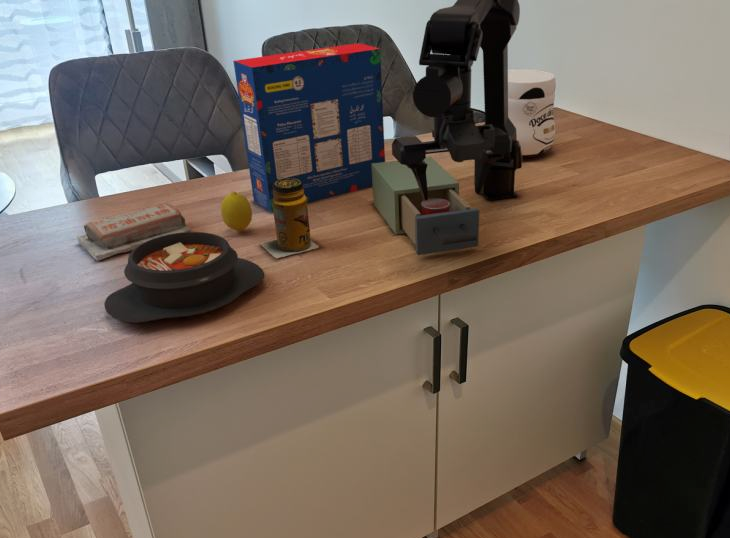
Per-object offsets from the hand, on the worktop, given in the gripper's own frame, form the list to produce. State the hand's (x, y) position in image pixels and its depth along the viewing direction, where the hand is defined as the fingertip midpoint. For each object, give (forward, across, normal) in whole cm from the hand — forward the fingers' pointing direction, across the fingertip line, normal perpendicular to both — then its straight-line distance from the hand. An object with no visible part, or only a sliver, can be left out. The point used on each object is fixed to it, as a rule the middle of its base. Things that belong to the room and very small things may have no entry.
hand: (451, 196), depth 121 cm
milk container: (+12, +36, +52) cm, 64 cm away
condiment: (+12, -26, +15) cm, 32 cm away
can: (+10, 0, +8) cm, 13 cm away
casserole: (+12, -44, 0) cm, 46 cm away
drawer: (+11, 0, +6) cm, 12 cm away
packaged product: (+12, -53, +27) cm, 61 cm away
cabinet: (+12, 0, +22) cm, 25 cm away
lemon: (+12, -34, +25) cm, 44 cm away
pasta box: (+12, -15, +41) cm, 45 cm away
